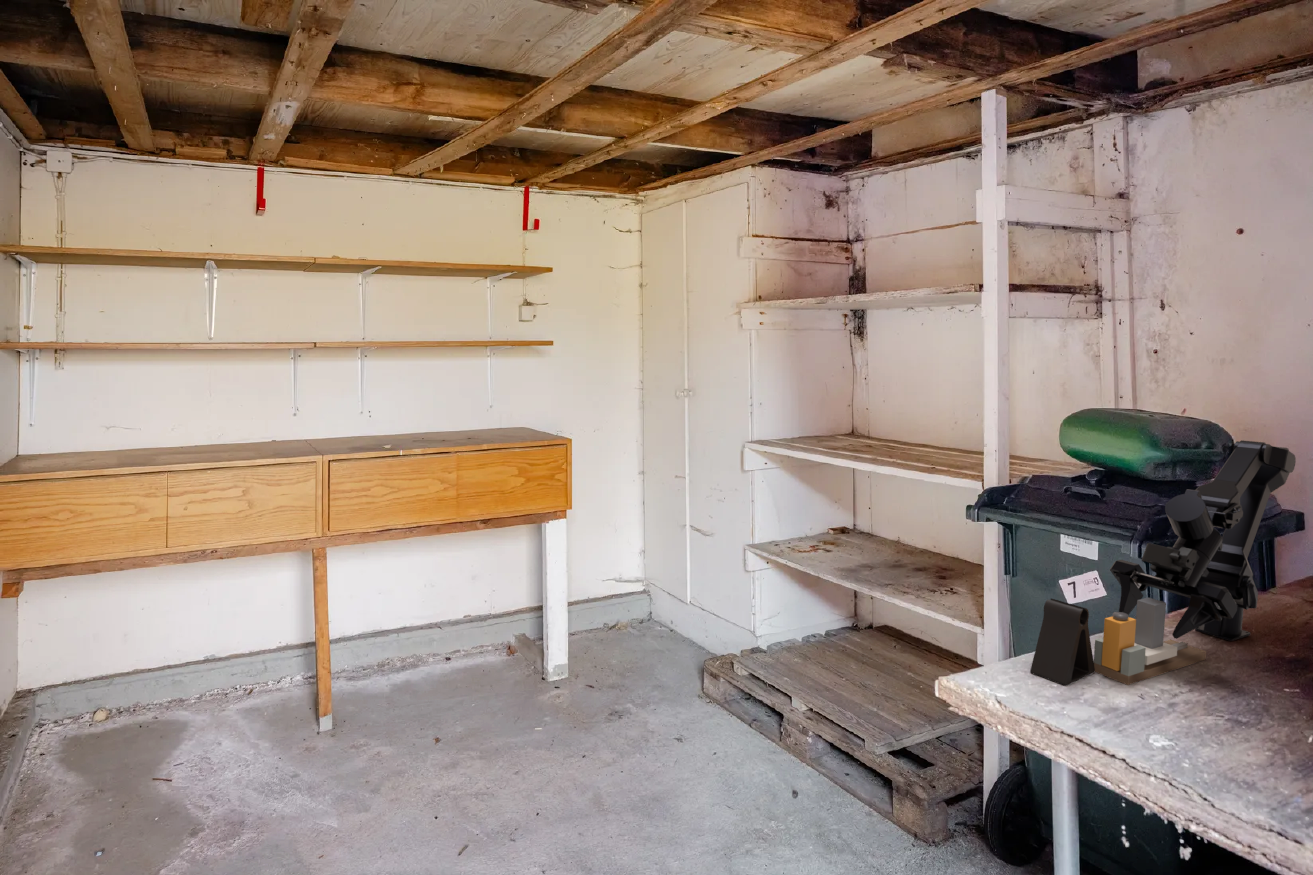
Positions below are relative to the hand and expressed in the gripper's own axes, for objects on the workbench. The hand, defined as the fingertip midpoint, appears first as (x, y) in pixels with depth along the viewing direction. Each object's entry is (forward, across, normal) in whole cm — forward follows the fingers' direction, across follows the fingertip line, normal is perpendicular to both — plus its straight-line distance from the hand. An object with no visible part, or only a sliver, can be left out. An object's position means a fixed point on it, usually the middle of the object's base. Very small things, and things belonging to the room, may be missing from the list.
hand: (1146, 627), depth 135 cm
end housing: (+9, 0, -1) cm, 9 cm away
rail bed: (+4, 0, +6) cm, 7 cm away
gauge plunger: (+9, 0, -1) cm, 9 cm away
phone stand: (+15, -5, -5) cm, 16 cm away
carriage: (+3, 0, +3) cm, 5 cm away
